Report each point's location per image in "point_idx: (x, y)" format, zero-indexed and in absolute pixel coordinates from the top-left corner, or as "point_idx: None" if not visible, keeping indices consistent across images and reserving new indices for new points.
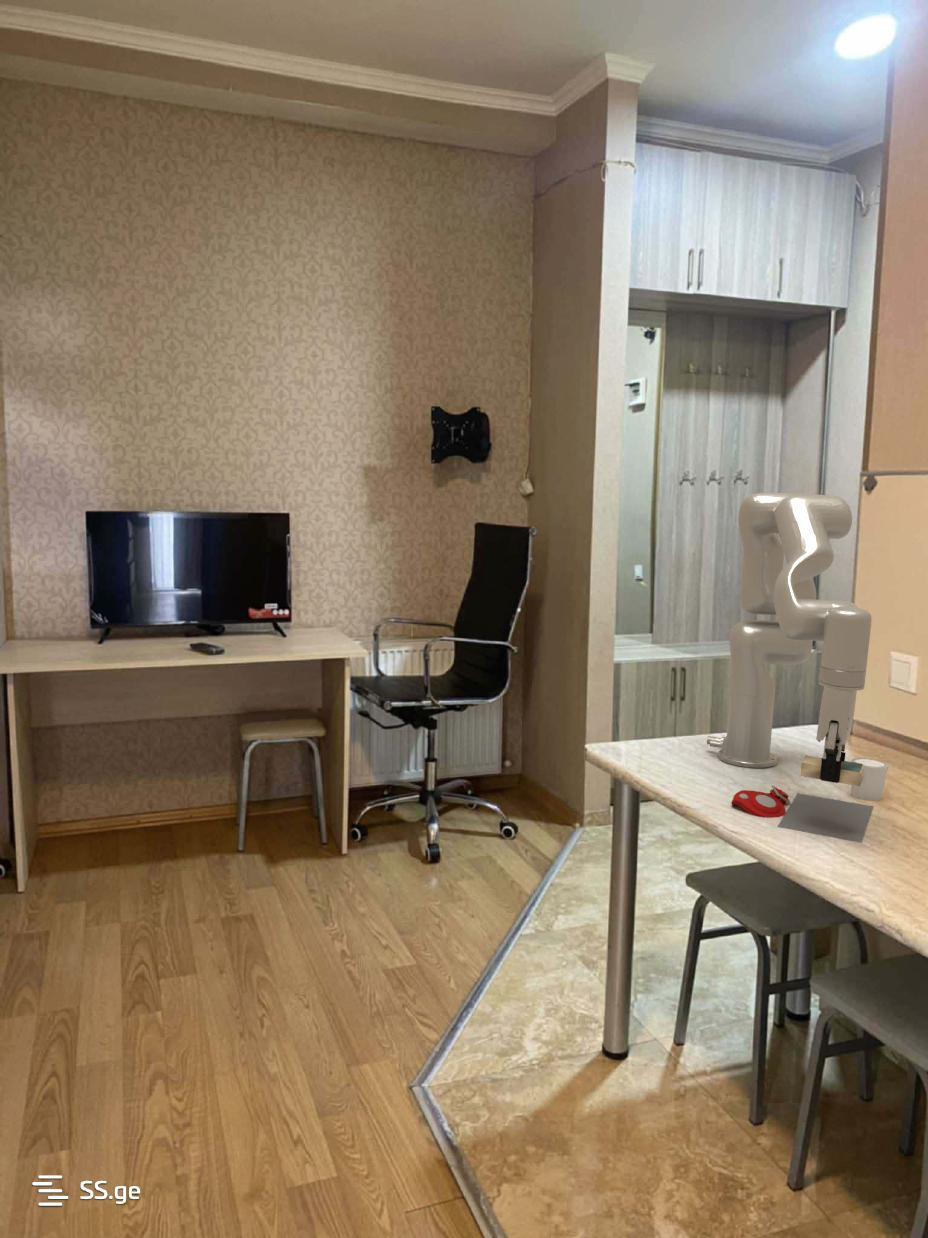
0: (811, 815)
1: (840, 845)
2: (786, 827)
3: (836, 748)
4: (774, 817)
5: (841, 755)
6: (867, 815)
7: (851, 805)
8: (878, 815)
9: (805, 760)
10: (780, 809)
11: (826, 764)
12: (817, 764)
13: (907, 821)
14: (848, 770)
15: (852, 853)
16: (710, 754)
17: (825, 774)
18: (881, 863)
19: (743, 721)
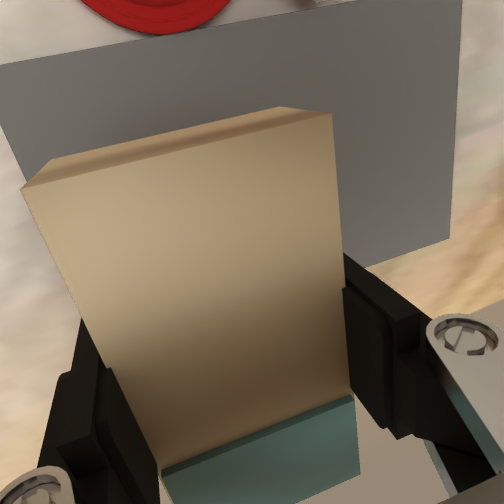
0: None
1: (53, 313)
2: (3, 110)
3: (420, 411)
4: (90, 6)
5: (374, 409)
6: (364, 260)
7: (426, 190)
8: (403, 263)
9: (141, 189)
10: (178, 3)
11: (41, 461)
12: (111, 326)
13: None
14: (171, 501)
15: (15, 366)
16: None
17: (58, 386)
18: (15, 442)
19: None
